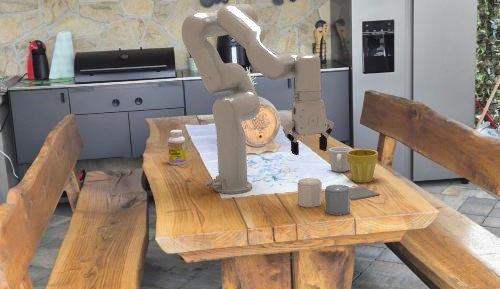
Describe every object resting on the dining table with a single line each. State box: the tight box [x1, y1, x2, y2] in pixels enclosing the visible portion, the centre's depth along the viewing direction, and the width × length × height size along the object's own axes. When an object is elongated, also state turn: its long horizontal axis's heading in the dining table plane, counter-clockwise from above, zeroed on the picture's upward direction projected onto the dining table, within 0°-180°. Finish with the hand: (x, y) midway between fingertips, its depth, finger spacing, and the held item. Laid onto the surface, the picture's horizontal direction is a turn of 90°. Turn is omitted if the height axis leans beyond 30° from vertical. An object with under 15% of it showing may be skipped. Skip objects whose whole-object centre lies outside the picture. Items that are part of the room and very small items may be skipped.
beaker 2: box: [324, 184, 351, 216], centre depth 213 cm, size 7×7×7 cm
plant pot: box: [347, 148, 379, 184], centre depth 246 cm, size 10×10×10 cm
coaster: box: [349, 186, 380, 201], centre depth 231 cm, size 10×10×1 cm
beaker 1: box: [297, 177, 323, 208], centre depth 222 cm, size 7×7×7 cm
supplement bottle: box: [167, 129, 187, 166], centre depth 279 cm, size 7×7×13 cm
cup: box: [328, 146, 352, 173], centre depth 258 cm, size 11×8×8 cm
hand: (309, 152), depth 219 cm, fingers open, 9 cm apart
